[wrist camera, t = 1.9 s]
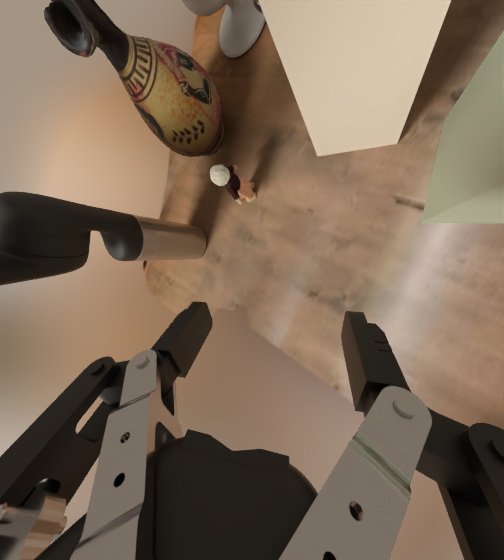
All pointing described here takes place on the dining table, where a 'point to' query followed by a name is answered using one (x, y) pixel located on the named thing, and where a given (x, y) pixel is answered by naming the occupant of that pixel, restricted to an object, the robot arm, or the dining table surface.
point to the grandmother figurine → (233, 182)
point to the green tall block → (472, 152)
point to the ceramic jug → (147, 77)
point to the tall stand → (354, 64)
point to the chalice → (232, 23)
